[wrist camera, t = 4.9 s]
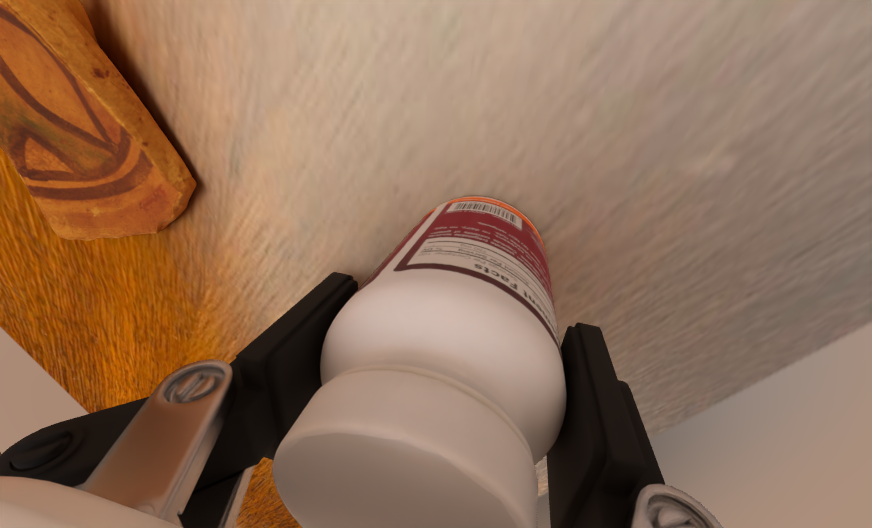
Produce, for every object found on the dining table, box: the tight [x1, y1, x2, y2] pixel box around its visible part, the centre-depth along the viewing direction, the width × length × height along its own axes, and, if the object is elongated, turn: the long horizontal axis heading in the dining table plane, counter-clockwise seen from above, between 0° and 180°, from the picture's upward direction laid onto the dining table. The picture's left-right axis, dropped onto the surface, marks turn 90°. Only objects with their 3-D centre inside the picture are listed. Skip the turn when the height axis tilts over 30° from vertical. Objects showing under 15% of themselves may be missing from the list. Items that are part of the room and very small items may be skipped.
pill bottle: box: [273, 196, 567, 528], centre depth 10 cm, size 6×6×11 cm
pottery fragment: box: [0, 0, 196, 241], centre depth 16 cm, size 10×5×10 cm
